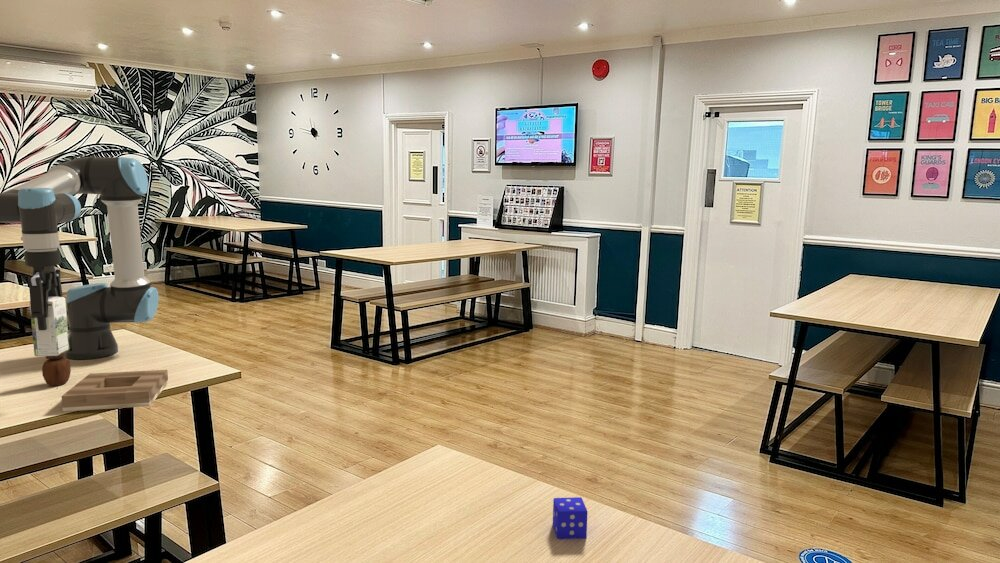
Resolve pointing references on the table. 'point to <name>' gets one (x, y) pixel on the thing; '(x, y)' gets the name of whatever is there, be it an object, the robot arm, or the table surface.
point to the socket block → (115, 390)
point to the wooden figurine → (56, 370)
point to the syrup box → (53, 329)
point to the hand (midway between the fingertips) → (51, 338)
